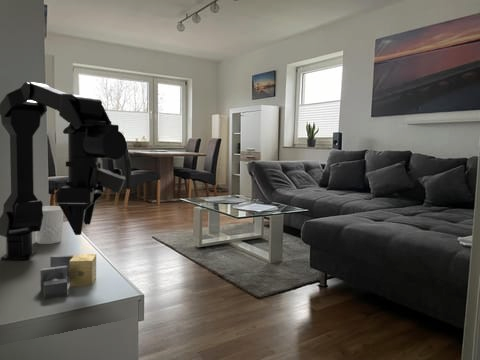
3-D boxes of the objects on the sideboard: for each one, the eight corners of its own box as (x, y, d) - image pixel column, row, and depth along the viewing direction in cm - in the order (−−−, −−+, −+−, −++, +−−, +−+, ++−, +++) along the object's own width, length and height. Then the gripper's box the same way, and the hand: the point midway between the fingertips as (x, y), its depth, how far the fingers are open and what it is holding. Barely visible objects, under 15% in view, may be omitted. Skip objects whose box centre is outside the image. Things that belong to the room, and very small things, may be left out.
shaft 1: (40, 289, 74) (40, 268, 73) (66, 285, 76) (66, 265, 76) (42, 299, 69) (41, 277, 69) (69, 295, 72) (69, 273, 71)
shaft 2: (57, 267, 86) (57, 249, 86) (78, 267, 87) (78, 249, 87) (50, 276, 81) (50, 256, 81) (73, 275, 82) (73, 256, 82)
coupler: (74, 278, 80) (74, 254, 80) (96, 277, 81) (96, 254, 81) (69, 286, 76) (69, 261, 76) (92, 285, 77) (92, 260, 76)
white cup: (56, 236, 113) (56, 204, 112) (68, 241, 108) (68, 208, 107) (29, 240, 107) (28, 207, 106) (40, 246, 102) (40, 211, 101)
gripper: (117, 160, 69) (116, 240, 70) (127, 156, 87) (126, 220, 88) (54, 158, 66) (54, 241, 68) (78, 154, 84) (78, 219, 86)
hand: (83, 229), depth 78 cm, fingers open, 9 cm apart
